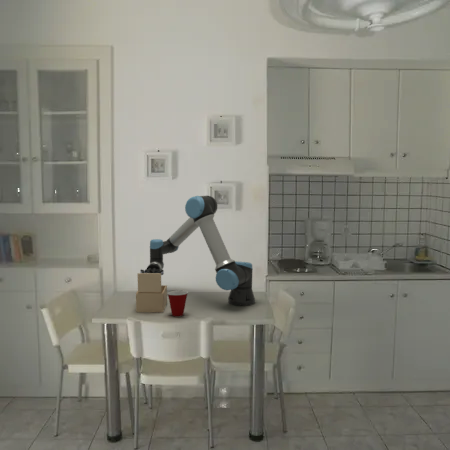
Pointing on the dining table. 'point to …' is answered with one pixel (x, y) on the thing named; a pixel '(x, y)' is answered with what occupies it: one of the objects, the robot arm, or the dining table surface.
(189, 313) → the dining table surface
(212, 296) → the dining table surface
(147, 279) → the flap
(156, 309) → the carton
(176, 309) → the plastic cup
